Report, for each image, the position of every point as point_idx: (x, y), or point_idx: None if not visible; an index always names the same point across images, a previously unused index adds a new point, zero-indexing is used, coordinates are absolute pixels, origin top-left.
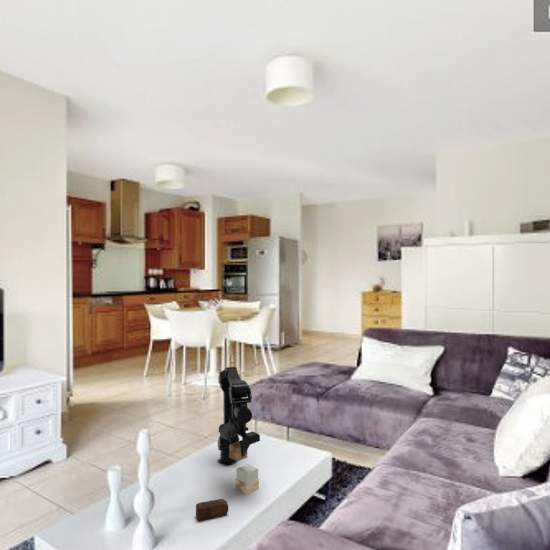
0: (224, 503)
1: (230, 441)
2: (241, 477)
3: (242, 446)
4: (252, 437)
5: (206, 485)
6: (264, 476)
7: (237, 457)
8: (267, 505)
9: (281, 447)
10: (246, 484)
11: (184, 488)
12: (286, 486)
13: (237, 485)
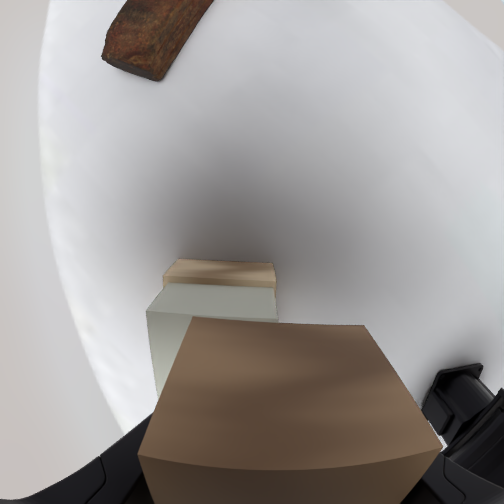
0: (109, 38)
1: (458, 493)
2: (218, 295)
3: (67, 498)
4: None
5: (413, 183)
6: None
7: (187, 343)
8: (55, 254)
9: None
10: (167, 277)
11: (457, 102)
12: (120, 407)
13: (253, 269)
